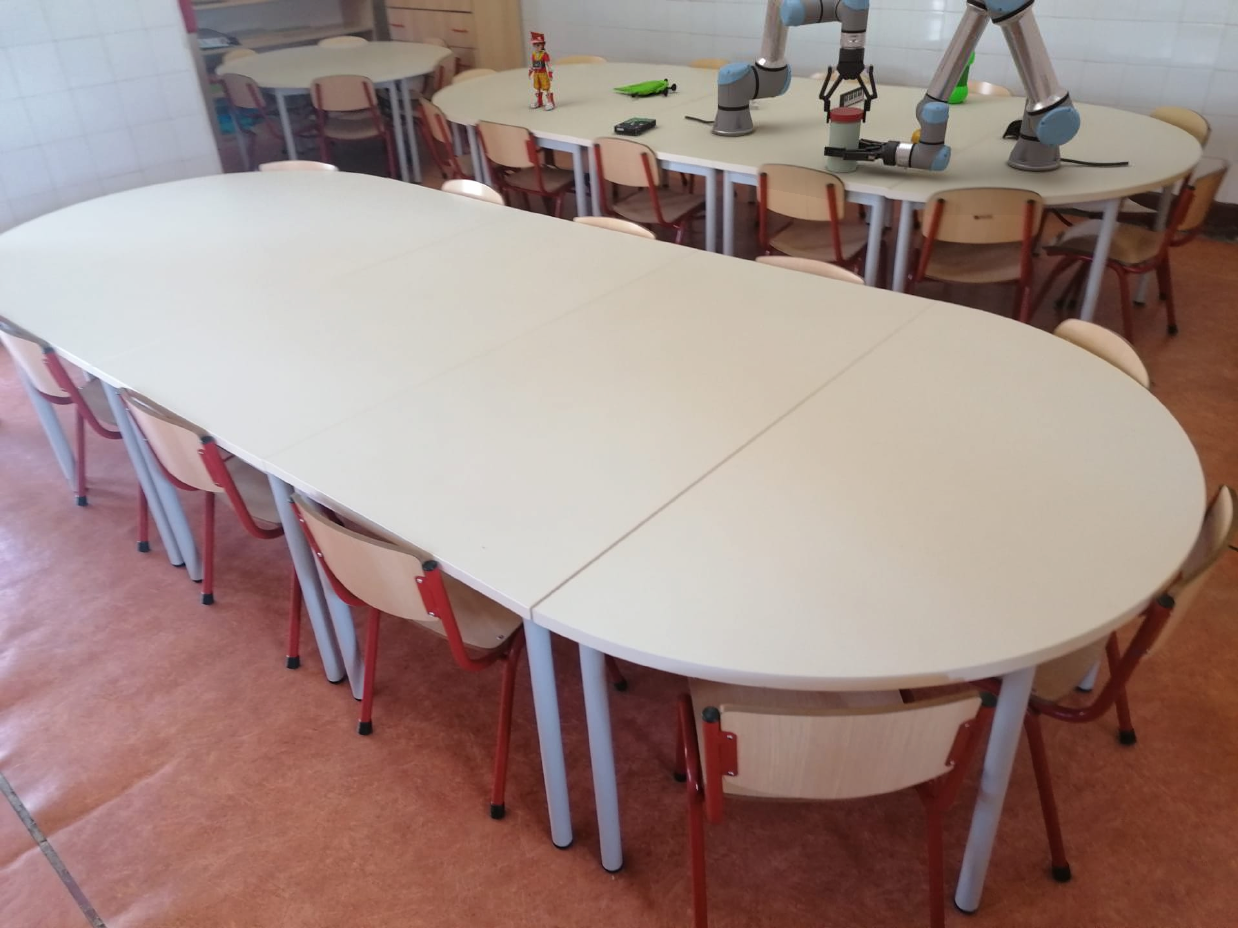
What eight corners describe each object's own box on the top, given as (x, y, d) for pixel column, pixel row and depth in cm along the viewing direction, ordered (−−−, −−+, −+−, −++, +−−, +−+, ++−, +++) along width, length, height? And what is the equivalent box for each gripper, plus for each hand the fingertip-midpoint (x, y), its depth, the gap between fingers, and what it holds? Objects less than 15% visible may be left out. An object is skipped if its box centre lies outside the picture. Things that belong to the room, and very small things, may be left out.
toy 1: (525, 109, 381) (517, 32, 364) (534, 104, 388) (527, 28, 371) (550, 110, 377) (543, 32, 360) (559, 105, 384) (553, 28, 367)
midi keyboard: (841, 108, 355) (842, 95, 352) (838, 108, 356) (840, 94, 353) (863, 99, 366) (865, 86, 363) (860, 98, 366) (862, 86, 364)
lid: (857, 123, 279) (858, 116, 277) (824, 121, 283) (825, 114, 282) (866, 115, 286) (867, 108, 285) (834, 113, 290) (835, 106, 289)
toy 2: (686, 85, 398) (631, 84, 414) (685, 72, 395) (629, 72, 411) (651, 104, 381) (596, 103, 397) (650, 92, 378) (594, 91, 394)
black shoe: (1032, 109, 328) (1056, 91, 320) (1046, 130, 329) (1070, 113, 320) (998, 131, 311) (1023, 113, 303) (1012, 153, 311) (1038, 136, 303)
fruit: (905, 142, 301) (920, 120, 298) (906, 145, 309) (921, 124, 306) (926, 156, 300) (941, 134, 296) (927, 158, 307) (942, 137, 304)
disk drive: (637, 136, 338) (656, 126, 348) (636, 129, 336) (656, 118, 346) (613, 134, 342) (633, 123, 352) (613, 126, 341) (633, 116, 351)
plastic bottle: (973, 101, 354) (984, 32, 339) (955, 106, 349) (966, 36, 335) (952, 97, 361) (962, 29, 346) (934, 102, 356) (944, 33, 342)
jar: (825, 164, 298) (829, 111, 288) (853, 163, 297) (858, 110, 287) (829, 173, 290) (833, 118, 280) (858, 172, 289) (864, 117, 280)
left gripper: (813, 50, 271) (808, 125, 284) (892, 48, 268) (883, 125, 280) (813, 45, 277) (808, 119, 290) (890, 43, 274) (882, 118, 286)
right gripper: (885, 176, 276) (816, 168, 286) (907, 156, 291) (841, 149, 302) (888, 151, 272) (818, 144, 282) (910, 132, 287) (843, 126, 297)
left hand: (845, 122), depth 285 cm, fingers closed on lid, 10 cm apart
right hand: (830, 147), depth 292 cm, fingers closed on jar, 9 cm apart
